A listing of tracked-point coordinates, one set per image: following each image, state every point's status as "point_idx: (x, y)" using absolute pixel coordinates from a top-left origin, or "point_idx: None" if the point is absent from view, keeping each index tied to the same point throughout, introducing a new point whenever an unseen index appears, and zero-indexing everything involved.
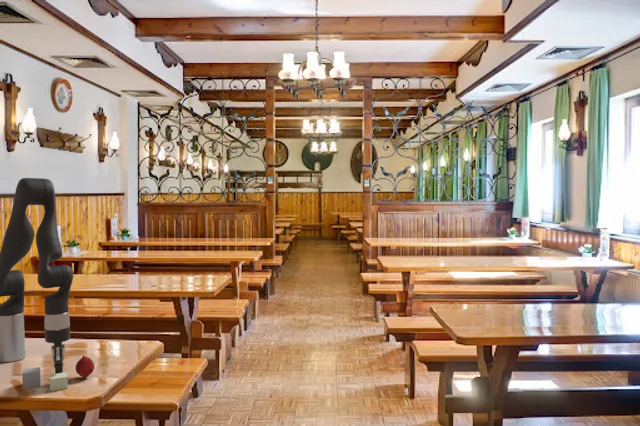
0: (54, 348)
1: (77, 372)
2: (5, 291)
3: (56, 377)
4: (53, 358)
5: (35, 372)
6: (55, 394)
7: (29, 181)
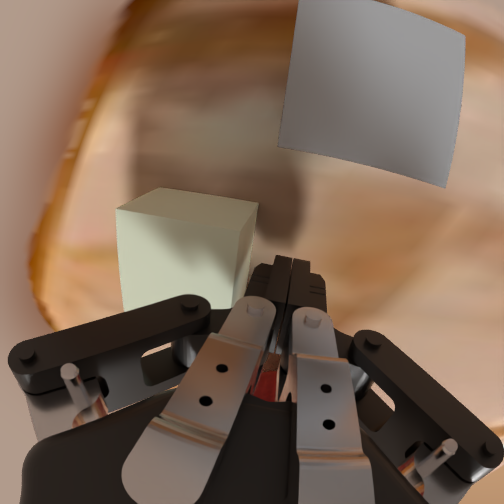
0: (24, 465)
1: (261, 377)
2: None
3: (133, 256)
4: (197, 363)
5: (286, 103)
6: (99, 206)
7: None
